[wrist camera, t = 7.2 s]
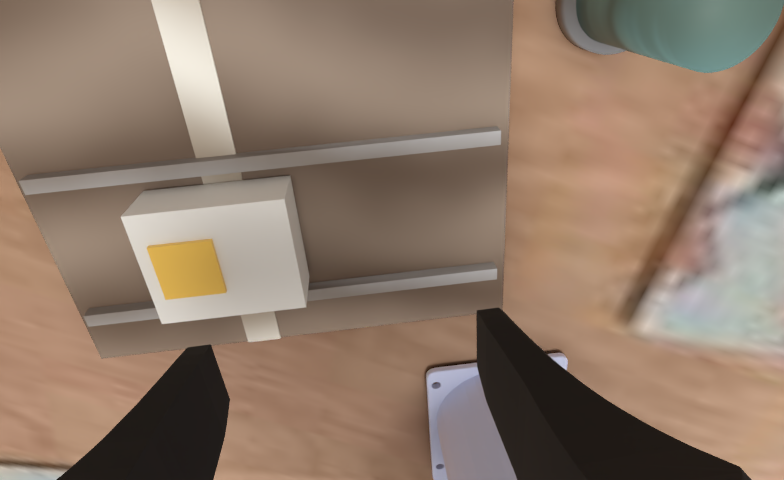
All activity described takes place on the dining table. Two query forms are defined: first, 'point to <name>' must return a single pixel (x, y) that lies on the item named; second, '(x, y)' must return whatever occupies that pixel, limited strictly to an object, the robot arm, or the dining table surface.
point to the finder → (220, 248)
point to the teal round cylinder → (671, 29)
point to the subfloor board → (267, 147)
